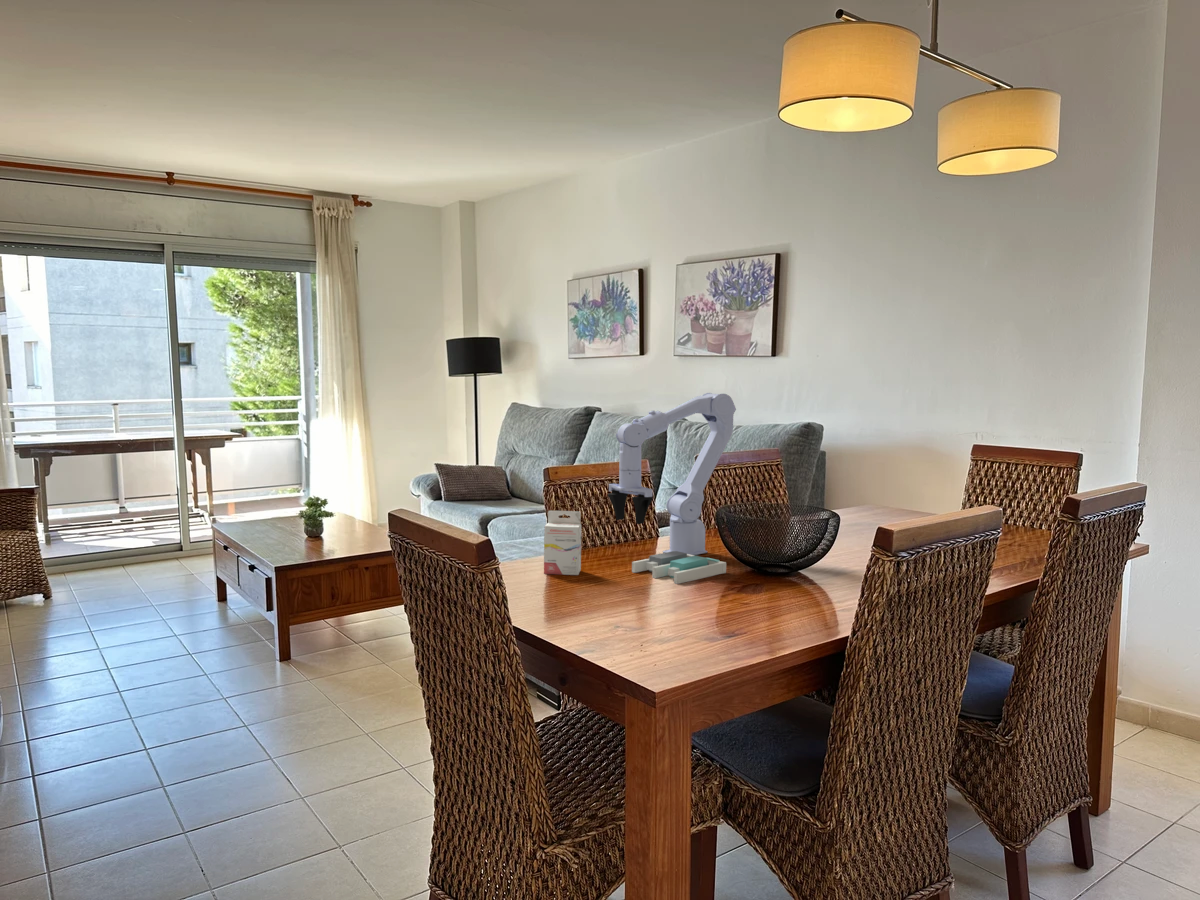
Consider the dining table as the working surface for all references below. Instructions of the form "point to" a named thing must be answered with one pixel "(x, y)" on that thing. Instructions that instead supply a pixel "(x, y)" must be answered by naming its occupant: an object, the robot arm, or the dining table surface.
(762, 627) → the dining table surface
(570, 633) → the dining table surface
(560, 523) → the ink cartridge box
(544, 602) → the dining table surface
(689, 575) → the cable comb
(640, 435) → the robot arm
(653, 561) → the grey plug
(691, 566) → the teal plug
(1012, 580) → the dining table surface
